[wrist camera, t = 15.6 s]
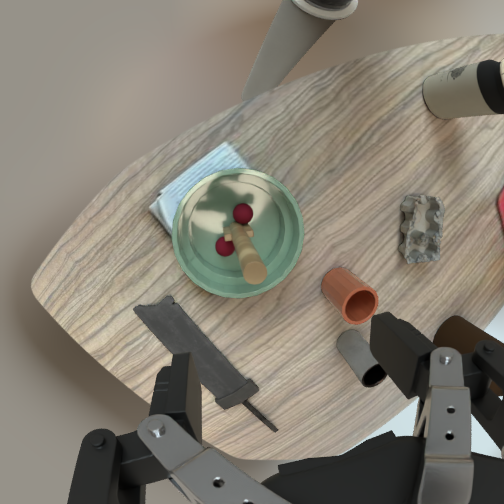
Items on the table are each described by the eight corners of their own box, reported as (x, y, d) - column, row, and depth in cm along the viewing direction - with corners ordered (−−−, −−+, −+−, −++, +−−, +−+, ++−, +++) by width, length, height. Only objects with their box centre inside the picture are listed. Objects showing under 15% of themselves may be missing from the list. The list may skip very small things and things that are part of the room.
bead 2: (244, 195, 37) (230, 205, 36) (259, 208, 37) (246, 219, 35) (240, 208, 39) (226, 218, 38) (254, 220, 39) (241, 231, 38)
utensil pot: (320, 270, 43) (341, 291, 35) (353, 264, 43) (379, 282, 36) (321, 303, 44) (342, 328, 37) (353, 296, 45) (377, 319, 37)
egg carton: (399, 193, 41) (415, 195, 38) (433, 195, 42) (449, 198, 38) (394, 259, 44) (408, 266, 40) (427, 256, 45) (442, 263, 41)
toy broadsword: (167, 282, 41) (165, 286, 39) (291, 418, 50) (293, 425, 48) (131, 308, 41) (128, 314, 39) (260, 435, 50) (261, 442, 48)
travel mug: (458, 111, 39) (534, 104, 22) (434, 125, 39) (517, 120, 22) (440, 71, 37) (513, 52, 19) (414, 83, 37) (493, 60, 20)
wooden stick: (221, 223, 39) (230, 265, 21) (247, 219, 39) (276, 258, 22) (223, 236, 39) (234, 288, 22) (249, 232, 39) (279, 280, 22)
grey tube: (356, 351, 48) (383, 385, 38) (333, 352, 47) (357, 389, 37) (363, 328, 47) (392, 361, 37) (339, 329, 46) (367, 364, 36)
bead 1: (210, 239, 39) (222, 230, 37) (226, 244, 40) (238, 235, 39) (211, 257, 38) (223, 248, 36) (228, 261, 39) (240, 253, 38)
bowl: (169, 179, 37) (161, 180, 31) (284, 162, 38) (296, 161, 32) (189, 288, 41) (186, 307, 35) (295, 270, 42) (308, 286, 37)
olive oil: (448, 306, 49) (534, 368, 25) (470, 318, 52) (545, 372, 28) (422, 351, 51) (496, 424, 27) (447, 358, 54) (513, 421, 30)
